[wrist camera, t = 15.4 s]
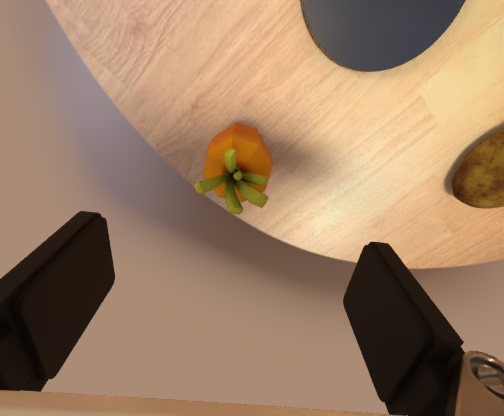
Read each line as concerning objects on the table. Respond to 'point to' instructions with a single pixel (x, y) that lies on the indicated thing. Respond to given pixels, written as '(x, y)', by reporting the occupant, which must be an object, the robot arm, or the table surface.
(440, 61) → the table surface
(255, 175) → the carrot
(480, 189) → the potato
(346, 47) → the lid
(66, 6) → the table surface
